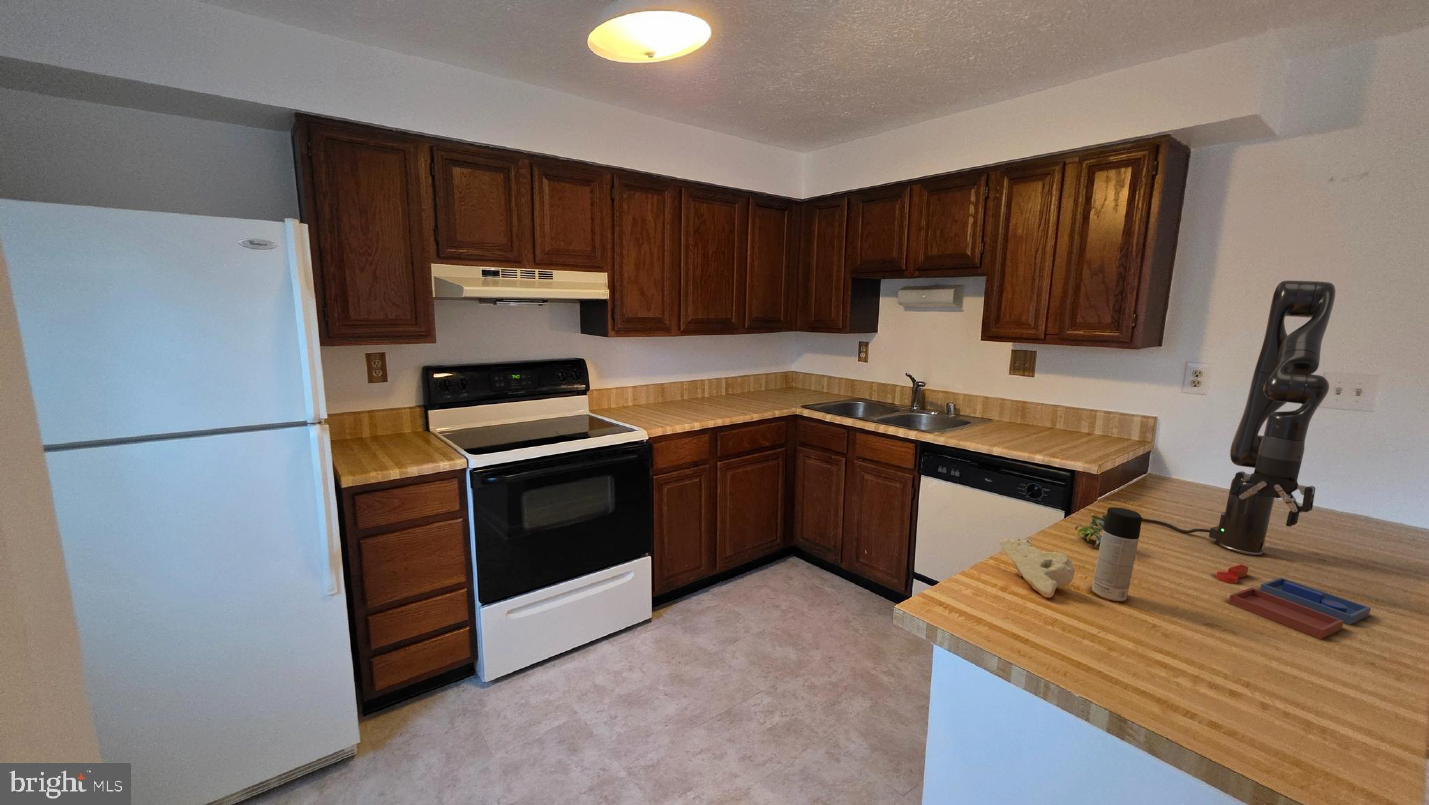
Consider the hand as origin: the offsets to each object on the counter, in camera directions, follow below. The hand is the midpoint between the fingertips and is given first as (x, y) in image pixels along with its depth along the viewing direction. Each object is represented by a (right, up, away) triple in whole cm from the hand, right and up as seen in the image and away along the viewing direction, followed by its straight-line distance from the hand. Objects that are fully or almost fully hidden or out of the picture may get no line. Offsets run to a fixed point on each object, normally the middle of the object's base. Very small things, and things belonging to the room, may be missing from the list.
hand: (1265, 519), depth 138 cm
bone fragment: (-61, -14, -5) cm, 63 cm away
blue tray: (+3, -18, -8) cm, 20 cm away
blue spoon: (+4, -17, -8) cm, 19 cm away
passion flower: (-27, -12, +19) cm, 35 cm away
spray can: (-45, -15, -9) cm, 48 cm away
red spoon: (-5, -15, +4) cm, 17 cm away
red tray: (-10, -18, -14) cm, 25 cm away
